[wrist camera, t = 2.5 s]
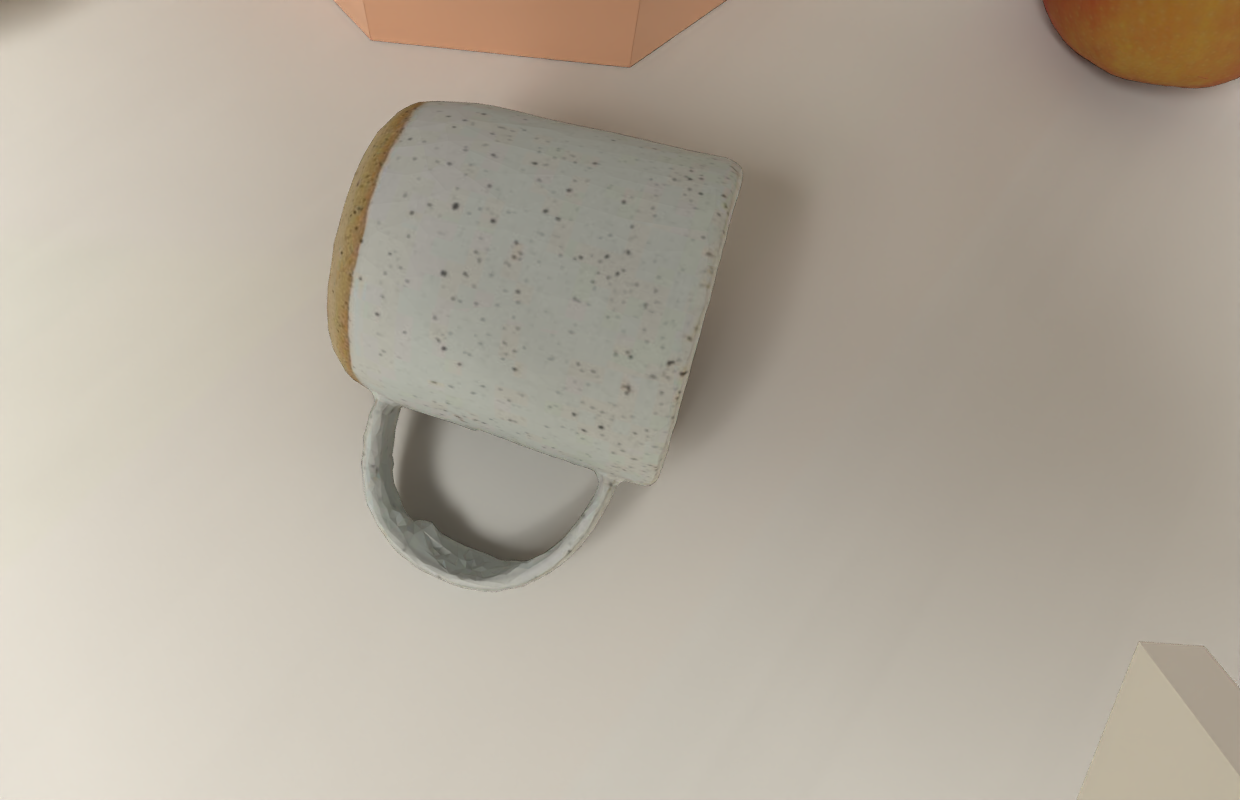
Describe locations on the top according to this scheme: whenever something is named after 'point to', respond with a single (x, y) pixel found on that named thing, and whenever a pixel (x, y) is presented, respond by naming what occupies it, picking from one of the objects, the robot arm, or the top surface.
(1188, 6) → the apple
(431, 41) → the terracotta bowl
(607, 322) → the ceramic mug
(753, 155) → the top surface
